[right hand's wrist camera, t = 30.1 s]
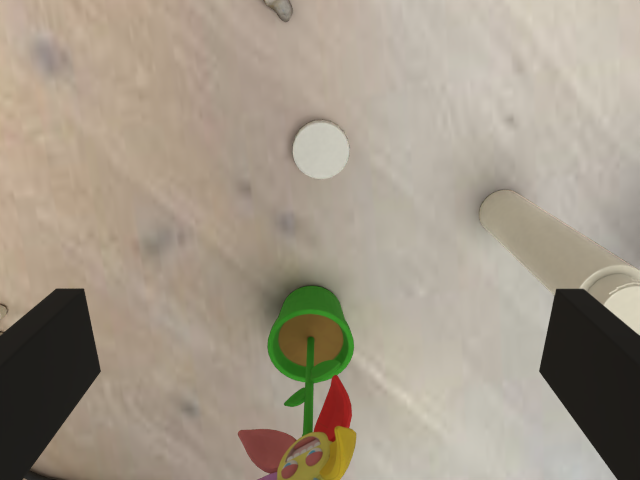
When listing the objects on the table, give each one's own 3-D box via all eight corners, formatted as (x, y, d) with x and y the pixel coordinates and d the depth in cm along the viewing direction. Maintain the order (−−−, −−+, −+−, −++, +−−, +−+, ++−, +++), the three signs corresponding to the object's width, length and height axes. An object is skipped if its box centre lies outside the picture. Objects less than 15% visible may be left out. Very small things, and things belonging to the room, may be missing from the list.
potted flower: (326, 260, 45) (333, 465, 22) (367, 317, 48) (414, 558, 24) (250, 307, 47) (182, 542, 24) (294, 360, 49) (270, 621, 26)
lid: (286, 164, 42) (284, 169, 40) (303, 110, 40) (302, 113, 39) (337, 182, 43) (338, 187, 41) (356, 130, 41) (358, 133, 39)
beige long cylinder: (534, 213, 44) (684, 315, 26) (495, 242, 45) (614, 359, 27) (508, 180, 43) (647, 262, 25) (469, 210, 44) (575, 310, 26)
